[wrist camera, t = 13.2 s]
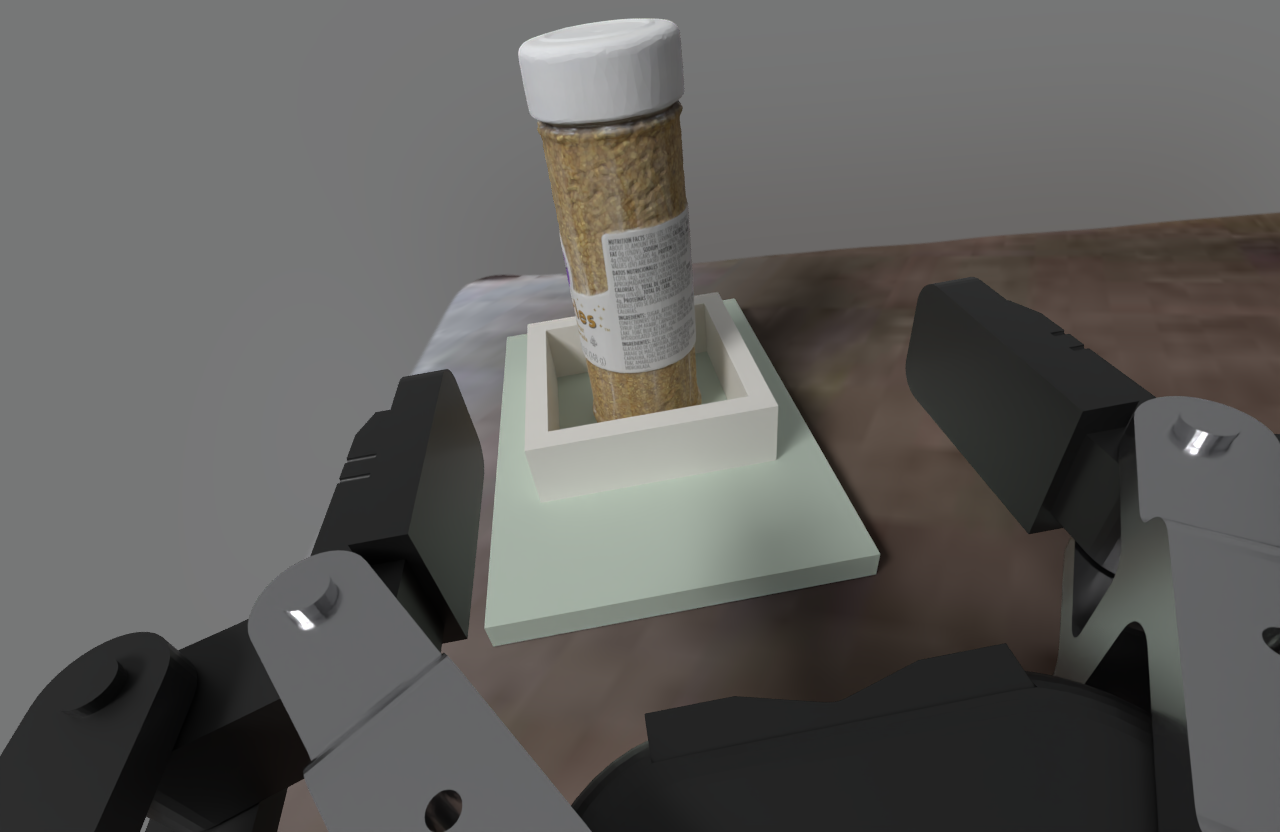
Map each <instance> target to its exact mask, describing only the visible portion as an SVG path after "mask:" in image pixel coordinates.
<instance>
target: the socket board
mask: <svg viewBox="0 0 1280 832" xmlns="http://www.w3.org/2000/svg"><path fill="white" fill-rule="evenodd" d="M694 309H695V327H696V342H695V344H694V347H695V354H696V357H695V358H696V377H697V385H698V387H699V390H700V393H701V398H702V402H701V405H696V406H690V407H685V408H679V409H673V410H668V411H662V412H656V413H651V414H645V415H639V416H634V417H628V418H622V419H617V420H611V421H605V422H600V423H597V421H596V419H595V416H594V414H593V399H594V398H593V393H592V388H591V383H590V378H589V374H588V367H587V363H586V357H585V355H584V353H583V351H582V347H581V341H580V336H579V331H578V326H577V321H576V316H574V317H568V318H563V319H557V320H551V321H545V322H539V323H533V324H528V332H527V334H523V335H518V336H512V337H507V347H506V359H505V372H504V385H503V398H502V411H501V423H500V436H499V449H498V462H497V474H496V487H495V500H494V513H493V526H492V538H491V551H490V564H489V577H488V589H487V602H486V615H485V630H486V632H487V634H488V636H489V638H490V640H491V642H492V644H493V646H499V645H504V644H510V643H515V642H520V641H526V640H531V639H536V638H541V637H547V636H552V635H557V634H563V633H568V632H573V631H579V630H584V629H589V628H595V627H600V626H605V625H610V624H616V623H621V622H626V621H632V620H637V619H642V618H648V617H653V616H658V615H664V614H669V613H674V612H679V611H685V610H690V609H695V608H701V607H706V606H711V605H717V604H722V603H727V602H732V601H738V600H743V599H748V598H754V597H759V596H764V595H770V594H775V593H780V592H786V591H791V590H796V589H801V588H807V587H812V586H817V585H823V584H828V583H833V582H839V581H844V580H849V579H855V578H860V577H865V576H870V575H876V572H877V568H878V563H879V558H880V553H879V551H878V549H877V547H876V546H875V544H874V542H873V540H872V539H871V537H870V535H869V533H868V532H867V530H866V528H865V526H864V525H863V523H862V521H861V519H860V518H859V516H858V514H857V512H856V511H855V509H854V507H853V505H852V503H851V502H850V500H849V498H848V496H847V495H846V493H845V491H844V489H843V488H842V486H841V484H840V482H839V481H838V479H837V477H836V475H835V474H834V472H833V470H832V468H831V467H830V465H829V463H828V461H827V460H826V458H825V456H824V454H823V453H822V451H821V449H820V447H819V446H818V444H817V442H816V440H815V439H814V437H813V435H812V433H811V432H810V430H809V428H808V426H807V425H806V423H805V421H804V419H803V418H802V416H801V414H800V412H799V411H798V409H797V407H796V405H795V404H794V402H793V400H792V398H791V396H790V395H789V393H788V391H787V389H786V388H785V386H784V384H783V382H782V381H781V379H780V377H779V375H778V374H777V372H776V370H775V368H774V367H773V365H772V363H771V361H770V360H769V358H768V356H767V354H766V353H765V351H764V349H763V347H762V346H761V344H760V342H759V340H758V339H757V337H756V335H755V333H754V332H753V330H752V328H751V326H750V325H749V323H748V321H747V319H746V318H745V316H744V314H743V312H742V311H741V309H740V307H739V305H738V304H737V302H736V300H735V298H734V299H728V300H722V299H721V297H720V295H719V293H718V292H715V293H709V294H703V295H698V296H694Z"/></svg>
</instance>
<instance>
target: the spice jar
mask: <svg viewBox="0 0 1280 832" xmlns="http://www.w3.org/2000/svg"><path fill="white" fill-rule="evenodd" d="M518 57H519V64H520V69H521V74H522V79H523V83H524V89H525V94H526V98H527V103H528V108H529V112H530V114H531V116H532V117H533V118H535V119H537V120H538V132H539V134H540V135H541V137H542V140H543V148H544V152H545V158H546V162H547V166H548V172H549V178H550V182H551V189H552V193H553V199H554V203H555V207H556V212H557V219H558V222H559V228H560V239H561V245H562V250H563V254H564V260H565V265H566V271H567V276H568V281H569V286H570V292H571V297H572V301H573V306H574V310H575V316H576V321H577V326H578V331H579V336H580V341H581V347H582V351H583V353H584V355H585V357H586V363H587V367H588V374H589V378H590V383H591V388H592V393H593V398H594V399H593V414H594V416H595V419H596V421H597V423H600V422H605V421H611V420H617V419H622V418H628V417H634V416H639V415H645V414H651V413H656V412H662V411H668V410H673V409H679V408H685V407H690V406H696V405H701V402H702V398H701V393H700V390H699V387H698V385H697V377H696V358H695V357H696V354H695V347H694V344H695V342H696V327H695V309H694V290H693V274H692V259H691V244H690V228H689V212H688V203H687V199H686V194H685V181H684V170H683V154H682V140H681V128H680V118H679V117H680V114H681V112H682V105H681V103H680V102H679V101H678V100H679V99H680V98H681V97H682V95H683V94H684V78H683V63H682V50H681V40H680V32H679V29H678V27H677V25H676V24H675V23H673V22H672V21H669V20H664V19H620V20H610V21H602V22H595V23H589V24H582V25H577V26H572V27H567V28H563V29H560V30H556V31H552V32H549V33H546V34H542V35H539V36H537V37H534V38H531V39H529V40H527V41H526V42H524V43H523V44H522V45H521V47H520V48H519V52H518Z"/></svg>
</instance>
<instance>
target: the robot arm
mask: <svg viewBox="0 0 1280 832" xmlns="http://www.w3.org/2000/svg"><path fill="white" fill-rule="evenodd" d="M906 377H907V382H908V385H909V388H910V390H911V392H912V394H913V396H914V397H915V398H916V399H917V401H918V402H919V403H920V404H921V405H922V407H923V408H924V409H925V410H926V411H927V413H928V414H929V415H930V416H931V417H932V419H933V420H934V421H935V422H936V423H937V425H938V426H939V427H940V428H941V429H942V431H943V432H944V433H945V434H946V435H947V437H948V438H949V439H950V440H951V441H952V443H953V444H954V445H955V446H956V447H957V449H958V450H959V451H960V452H961V453H962V455H963V456H964V457H965V458H966V460H967V461H968V462H969V463H970V464H971V466H972V467H973V468H974V469H975V470H976V472H977V473H978V474H979V475H980V476H981V478H982V479H983V480H984V481H985V482H986V484H987V485H988V486H989V487H990V488H991V490H992V491H993V492H994V493H995V494H996V496H997V497H998V498H999V499H1000V500H1001V502H1002V503H1003V504H1004V505H1005V506H1006V508H1007V509H1008V510H1009V511H1010V512H1011V514H1012V515H1013V516H1014V517H1015V518H1016V520H1017V521H1018V522H1019V523H1020V524H1021V526H1022V527H1023V528H1024V529H1025V530H1026V532H1027V533H1028V534H1033V533H1038V532H1043V531H1048V530H1054V529H1059V528H1064V529H1065V530H1066V531H1067V532H1068V533H1069V534H1070V535H1071V538H1070V540H1069V542H1068V544H1067V546H1066V548H1065V552H1064V565H1063V585H1062V604H1061V623H1060V642H1059V654H1058V659H1057V664H1056V668H1055V671H1054V674H1053V676H1052V675H1047V674H1041V673H1035V672H1028V671H1024V670H1023V668H1022V667H1021V665H1020V664H1019V662H1018V661H1017V659H1016V658H1015V656H1014V655H1013V653H1012V652H1011V650H1010V649H1009V647H1008V646H1007V644H1006V643H1005V644H999V645H994V646H989V647H984V648H979V649H974V650H969V651H964V652H958V653H953V654H948V655H943V656H938V657H933V658H928V659H923V660H918V661H916V662H914V663H912V664H910V665H908V666H907V667H905V668H903V669H901V670H899V671H897V672H895V673H893V674H891V675H889V676H887V677H886V678H884V679H882V680H880V681H878V682H876V683H874V684H872V685H870V686H868V687H866V688H865V689H863V690H861V691H859V692H857V693H855V694H853V695H851V696H849V697H847V698H845V699H843V700H840V701H837V702H812V701H797V700H782V699H767V698H752V697H738V696H733V697H728V698H723V699H718V700H713V701H708V702H703V703H698V704H692V705H687V706H682V707H677V708H672V709H667V710H662V711H657V712H651V713H646V714H645V721H646V728H647V735H648V741H646V742H644V743H642V744H640V745H638V746H636V747H635V748H633V749H631V750H629V751H628V752H626V753H625V754H624V755H622V756H621V757H619V758H618V759H616V760H615V761H613V762H612V763H611V764H610V765H609V766H607V767H606V768H605V769H604V770H603V771H602V772H601V773H600V774H598V775H597V776H596V777H595V778H594V779H593V780H592V781H591V782H590V783H589V785H588V786H587V787H586V788H585V789H584V790H583V791H582V792H581V794H580V795H579V796H578V797H577V798H576V800H575V801H574V802H573V804H572V805H571V806H570V804H569V803H568V802H567V801H566V800H565V798H564V797H563V796H562V795H561V793H560V792H559V791H558V790H557V789H556V787H555V786H554V785H553V784H552V782H551V781H550V780H549V779H548V777H547V776H546V775H545V774H544V773H543V771H542V770H541V769H540V768H539V766H538V765H537V764H536V763H535V762H534V760H533V759H532V758H531V757H530V755H529V754H528V753H527V752H526V751H525V749H524V748H523V747H522V746H521V744H520V743H519V742H518V741H517V740H516V738H515V737H514V736H513V735H512V733H511V732H510V731H509V730H508V728H507V727H506V726H505V725H504V724H503V722H502V721H501V720H500V719H499V717H498V716H497V715H496V714H495V713H494V711H493V710H492V709H491V708H490V706H489V705H488V704H487V703H486V702H485V700H484V699H483V698H482V697H481V695H480V694H479V693H478V692H477V691H476V689H475V688H474V687H473V686H472V684H471V683H470V682H469V681H468V680H467V678H466V677H465V676H464V675H463V673H462V672H461V671H460V670H459V669H458V667H457V666H456V665H455V664H454V663H453V661H452V660H451V659H450V658H449V657H448V656H447V655H446V654H445V653H443V654H441V647H442V644H443V643H448V642H453V641H459V640H464V639H467V637H468V627H469V617H470V608H471V598H472V588H473V578H474V568H475V558H476V549H477V539H478V529H479V519H480V509H481V499H482V489H483V480H484V461H483V454H482V449H481V445H480V441H479V438H478V436H477V433H476V430H475V428H474V425H473V423H472V420H471V418H470V415H469V413H468V410H467V407H466V405H465V402H464V400H463V397H462V395H461V392H460V390H459V387H458V384H457V382H456V380H455V377H454V376H453V374H452V372H451V371H450V370H448V369H445V370H440V371H434V372H428V373H423V374H417V375H412V376H406V377H403V378H401V380H400V382H399V385H398V388H397V391H396V394H395V397H394V400H393V404H392V407H391V410H386V411H381V412H376V413H375V414H374V415H373V416H372V417H371V418H370V420H369V421H368V422H367V423H366V424H365V425H364V426H363V427H362V428H361V429H360V431H359V432H358V433H357V434H356V435H355V438H354V441H353V443H352V446H351V448H350V451H349V454H348V457H347V463H345V465H344V468H343V470H342V473H341V476H340V478H339V479H340V483H339V484H337V487H336V489H335V492H334V494H333V497H332V500H331V503H330V505H329V508H328V510H327V513H326V516H325V518H324V521H323V524H322V526H321V529H320V532H319V535H318V537H317V540H316V543H315V545H314V548H313V551H312V553H311V556H310V557H308V558H306V559H304V560H301V561H299V562H298V563H296V564H294V565H293V566H291V567H289V568H288V569H286V570H285V571H284V572H282V573H281V574H280V575H279V576H277V577H276V578H275V579H274V580H273V581H272V582H271V583H270V584H269V585H268V586H267V587H266V588H265V589H264V591H263V592H262V593H261V595H260V596H259V597H258V599H257V601H256V602H255V604H254V606H253V608H252V610H251V613H250V616H249V619H247V620H245V621H243V622H241V623H239V624H237V625H234V626H232V627H230V628H228V629H225V630H223V631H221V632H219V633H216V634H214V635H212V636H210V637H207V638H205V639H203V640H201V641H199V642H196V643H194V644H192V645H189V646H187V647H185V648H183V649H180V650H177V649H176V648H174V647H173V646H172V645H171V644H170V643H169V642H167V641H166V640H165V639H164V638H163V637H161V636H159V635H157V634H155V633H150V632H137V633H131V634H126V635H123V636H120V637H117V638H114V639H112V640H110V641H107V642H105V643H103V644H101V645H99V646H97V647H95V648H93V649H92V650H90V651H88V652H87V653H85V654H84V655H82V656H81V657H79V658H78V659H76V660H75V661H74V662H72V663H71V664H70V665H68V666H67V667H66V668H65V669H64V670H63V671H61V672H60V673H59V674H58V675H57V676H56V677H55V678H54V679H53V680H52V681H51V682H50V683H49V684H48V685H47V686H46V687H45V688H44V689H43V691H42V692H41V693H40V694H39V696H38V697H37V698H36V700H35V701H34V702H33V704H32V705H31V707H30V708H29V710H28V712H27V713H26V715H25V717H24V718H23V720H22V722H21V723H20V725H19V726H18V728H17V730H16V731H15V733H14V735H13V736H12V738H11V739H10V741H9V743H8V744H7V746H6V748H5V749H4V751H3V753H2V754H1V756H0V832H140V830H141V828H142V825H143V822H144V820H145V818H146V817H148V818H150V820H149V823H148V826H147V828H146V831H145V832H277V829H278V825H279V821H280V817H281V813H282V809H283V805H284V801H285V797H286V793H287V788H288V787H289V786H291V785H293V784H295V783H297V782H299V781H300V780H302V779H304V778H305V781H306V784H307V787H308V789H309V791H310V794H311V796H312V798H313V800H314V802H315V804H316V806H317V808H318V810H319V812H320V815H321V817H322V819H323V821H324V823H325V825H326V827H327V829H328V831H329V832H1280V434H1273V433H1272V431H1270V430H1269V429H1268V428H1267V427H1266V426H1265V425H1263V424H1262V423H1261V422H1259V421H1258V420H1256V419H1255V418H1253V417H1251V416H1249V415H1247V414H1246V413H1243V412H1241V411H1239V410H1237V409H1235V408H1232V407H1229V406H1226V405H1224V404H1220V403H1217V402H1213V401H1209V400H1205V399H1200V398H1193V397H1183V396H1167V397H1159V398H1156V397H1155V396H1153V395H1152V394H1151V393H1149V392H1148V391H1147V390H1145V389H1144V388H1142V387H1141V386H1140V385H1138V384H1137V383H1136V382H1134V381H1133V380H1131V379H1130V378H1129V377H1127V376H1126V375H1125V374H1123V373H1122V372H1121V371H1119V370H1118V369H1116V368H1115V367H1114V366H1112V365H1111V364H1110V363H1108V362H1107V361H1106V360H1104V359H1103V358H1101V357H1100V356H1099V355H1097V354H1096V353H1095V352H1093V351H1092V350H1091V349H1089V348H1088V349H1084V344H1082V343H1081V342H1080V341H1078V340H1077V339H1076V338H1074V337H1073V336H1071V335H1070V334H1064V330H1063V329H1062V328H1061V327H1059V326H1058V325H1056V324H1055V323H1054V322H1052V321H1051V320H1050V319H1048V318H1047V317H1045V316H1044V315H1043V314H1041V313H1039V312H1037V311H1034V310H1032V309H1029V308H1027V307H1024V306H1022V305H1019V304H1017V303H1014V302H1012V301H1009V300H1006V299H1005V298H1003V297H1002V296H1001V295H999V294H998V293H997V292H995V291H994V290H993V289H991V288H990V287H989V286H987V285H986V284H985V283H983V282H982V281H981V280H979V279H978V278H975V277H969V278H963V279H958V280H952V281H946V282H941V283H935V284H930V285H927V286H925V287H924V288H923V289H922V290H921V292H920V294H919V297H918V301H917V306H916V312H915V317H914V322H913V328H912V333H911V338H910V343H909V349H908V354H907V359H906Z"/></svg>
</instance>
